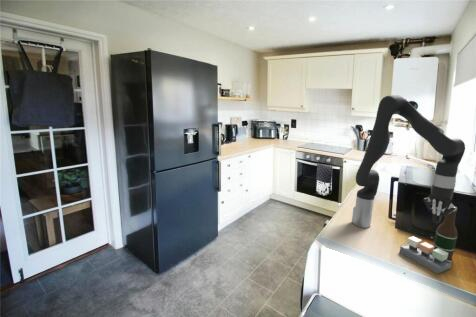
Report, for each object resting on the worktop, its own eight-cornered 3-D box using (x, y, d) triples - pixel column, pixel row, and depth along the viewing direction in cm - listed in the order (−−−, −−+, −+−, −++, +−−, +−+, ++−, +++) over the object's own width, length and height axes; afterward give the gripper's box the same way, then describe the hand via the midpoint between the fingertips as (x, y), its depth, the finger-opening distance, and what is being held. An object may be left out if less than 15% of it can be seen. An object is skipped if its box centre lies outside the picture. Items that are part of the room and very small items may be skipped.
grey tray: (399, 252, 125) (401, 242, 124) (411, 247, 128) (412, 238, 127) (438, 273, 110) (440, 263, 109) (450, 268, 113) (452, 258, 112)
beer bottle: (443, 249, 127) (453, 204, 122) (456, 259, 120) (468, 212, 114) (427, 249, 127) (437, 204, 121) (440, 259, 119) (451, 212, 114)
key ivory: (407, 243, 124) (408, 237, 123) (412, 241, 126) (413, 236, 125) (415, 247, 120) (416, 242, 120) (420, 246, 122) (422, 240, 121)
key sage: (431, 256, 114) (433, 250, 114) (437, 254, 116) (438, 248, 115) (441, 261, 111) (443, 255, 110) (447, 259, 112) (448, 253, 112)
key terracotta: (418, 249, 119) (420, 243, 118) (424, 247, 121) (425, 241, 120) (428, 254, 116) (429, 248, 115) (433, 252, 117) (434, 246, 117)
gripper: (421, 181, 114) (415, 217, 118) (456, 191, 102) (447, 230, 106) (431, 179, 117) (425, 214, 121) (466, 188, 105) (458, 227, 109)
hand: (435, 222), depth 113 cm, fingers closed
